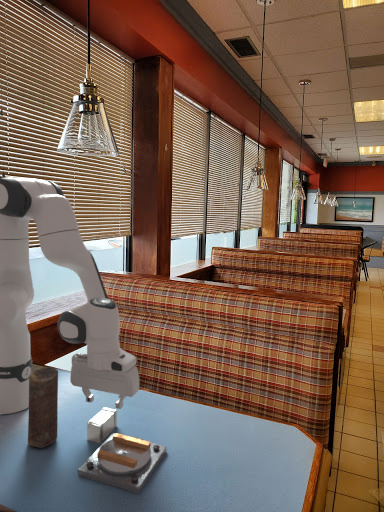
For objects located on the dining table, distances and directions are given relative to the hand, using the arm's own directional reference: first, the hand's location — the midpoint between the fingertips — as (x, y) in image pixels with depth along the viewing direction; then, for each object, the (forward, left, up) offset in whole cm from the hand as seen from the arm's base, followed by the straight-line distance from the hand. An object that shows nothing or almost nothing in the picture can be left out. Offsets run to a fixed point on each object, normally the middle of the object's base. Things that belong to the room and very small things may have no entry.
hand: (104, 404), depth 107 cm
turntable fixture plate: (+11, -9, -9) cm, 17 cm away
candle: (-13, -10, -9) cm, 18 cm away
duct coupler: (-1, 0, -9) cm, 9 cm away
